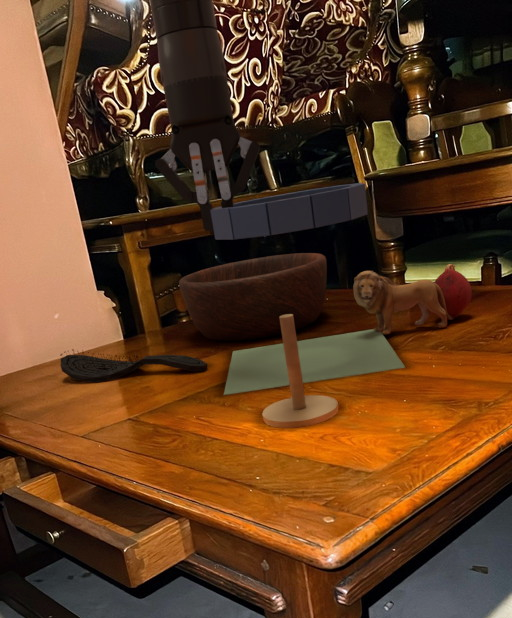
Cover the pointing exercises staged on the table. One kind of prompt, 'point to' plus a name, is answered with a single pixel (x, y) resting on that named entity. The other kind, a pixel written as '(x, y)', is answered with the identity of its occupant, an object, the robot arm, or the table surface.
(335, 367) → the green mat
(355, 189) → the blue ring
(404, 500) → the table surface
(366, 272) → the lion figurine
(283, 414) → the dowel stand
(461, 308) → the onion
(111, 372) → the hairbrush
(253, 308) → the wooden bowl
